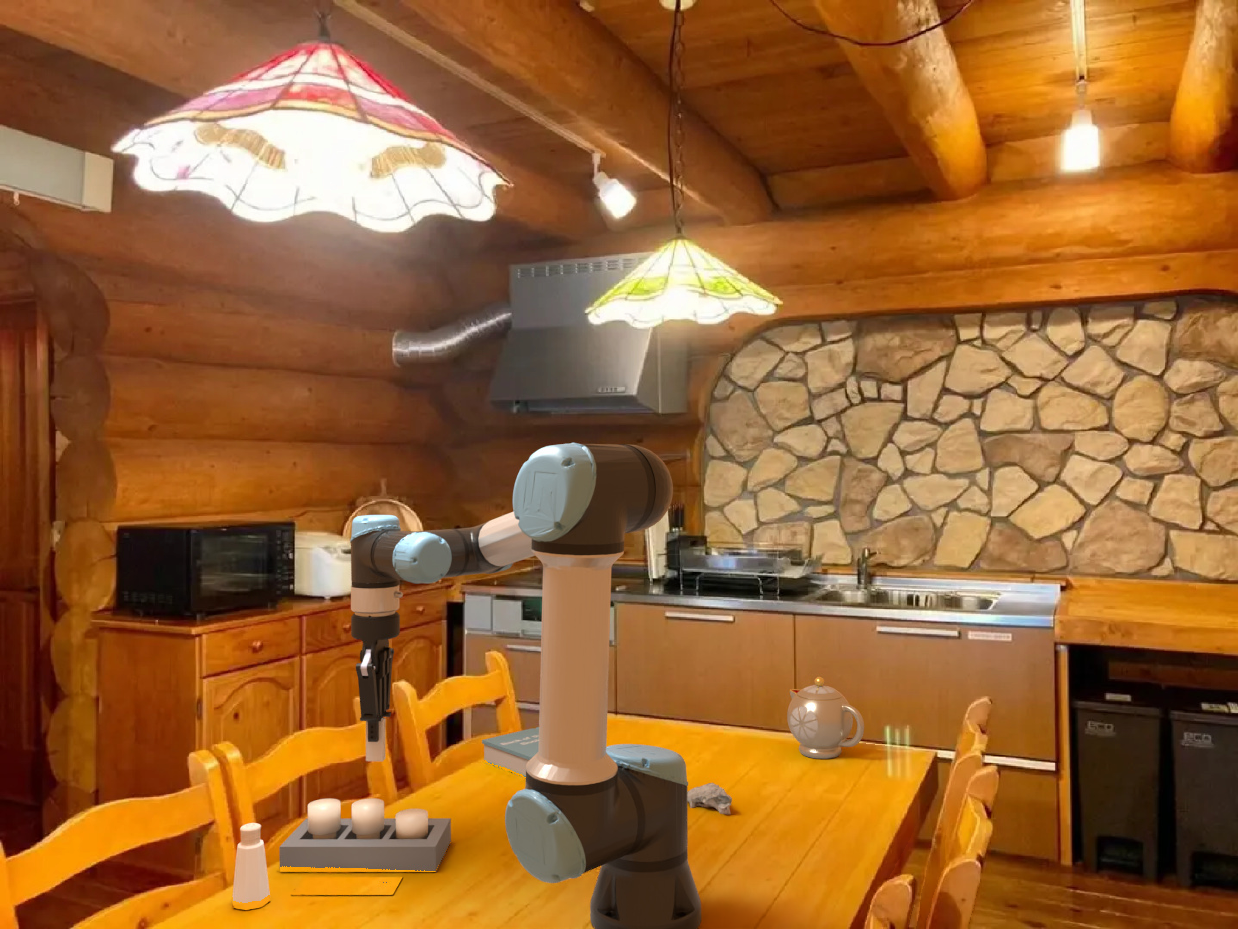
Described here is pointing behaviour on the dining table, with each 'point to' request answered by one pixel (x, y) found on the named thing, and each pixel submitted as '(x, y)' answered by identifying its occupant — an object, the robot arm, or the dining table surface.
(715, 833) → the dining table surface
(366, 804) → the button mid
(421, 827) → the button
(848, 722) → the teapot
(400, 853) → the gray compartment tray
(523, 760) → the book
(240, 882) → the salt shaker
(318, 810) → the button
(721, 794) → the stone
